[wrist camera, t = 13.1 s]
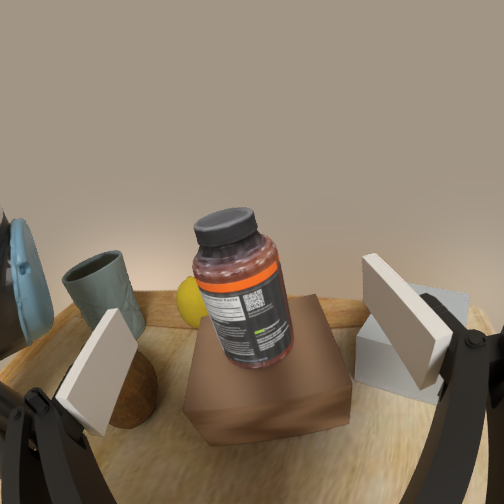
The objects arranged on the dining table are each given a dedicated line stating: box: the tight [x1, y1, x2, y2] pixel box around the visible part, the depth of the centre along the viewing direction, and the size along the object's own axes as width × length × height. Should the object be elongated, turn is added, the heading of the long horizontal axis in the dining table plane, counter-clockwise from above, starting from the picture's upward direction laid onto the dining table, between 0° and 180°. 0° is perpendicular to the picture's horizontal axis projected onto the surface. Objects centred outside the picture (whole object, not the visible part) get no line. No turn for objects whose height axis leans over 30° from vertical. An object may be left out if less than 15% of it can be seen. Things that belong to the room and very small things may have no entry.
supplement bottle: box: [192, 207, 294, 370], centre depth 20 cm, size 6×6×11 cm
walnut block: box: [183, 294, 352, 446], centre depth 23 cm, size 12×12×6 cm
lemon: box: [176, 276, 209, 329], centre depth 34 cm, size 6×6×8 cm
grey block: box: [354, 283, 470, 405], centre depth 21 cm, size 9×9×6 cm
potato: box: [81, 343, 158, 429], centre depth 23 cm, size 8×12×9 cm
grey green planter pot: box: [62, 250, 145, 340], centre depth 36 cm, size 10×10×12 cm
